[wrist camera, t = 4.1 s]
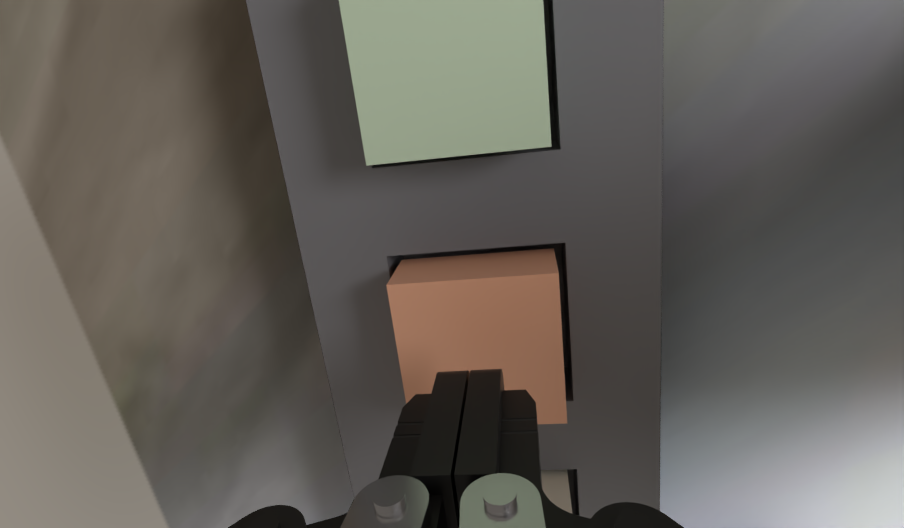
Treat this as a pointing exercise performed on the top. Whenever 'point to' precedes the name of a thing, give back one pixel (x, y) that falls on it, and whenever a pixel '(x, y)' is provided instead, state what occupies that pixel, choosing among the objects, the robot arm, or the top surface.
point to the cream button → (557, 488)
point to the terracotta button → (482, 323)
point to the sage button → (447, 77)
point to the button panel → (490, 230)
